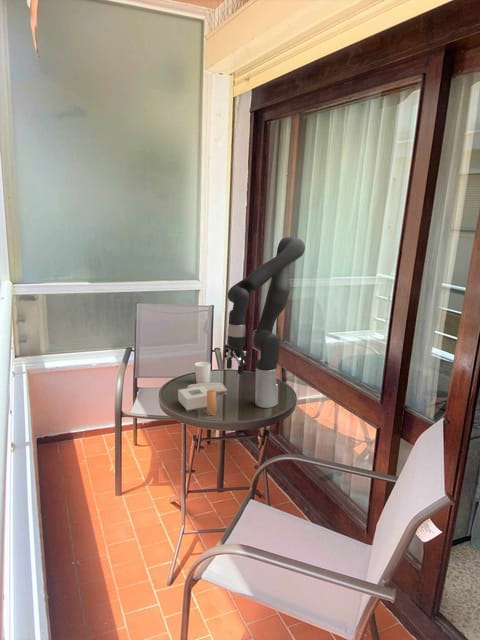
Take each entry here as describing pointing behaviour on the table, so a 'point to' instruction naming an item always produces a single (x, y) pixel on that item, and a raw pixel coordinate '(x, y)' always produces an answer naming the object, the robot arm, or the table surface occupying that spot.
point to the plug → (211, 402)
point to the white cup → (202, 372)
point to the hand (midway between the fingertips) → (234, 371)
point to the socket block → (193, 398)
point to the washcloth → (211, 387)
